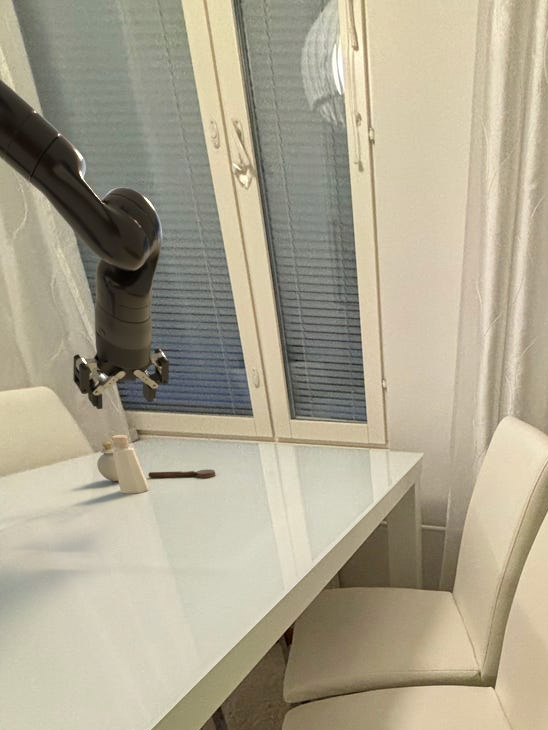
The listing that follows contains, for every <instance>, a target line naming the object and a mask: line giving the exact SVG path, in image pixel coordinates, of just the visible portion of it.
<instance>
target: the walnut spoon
mask: <svg viewBox="0 0 548 730" xmlns="http://www.w3.org/2000/svg"><path fill="white" fill-rule="evenodd" d="M216 475H217V474H216V471H215V470H214V469H199V470H197V471H195V470H184V471H183V470H182V471H181V470H180V471H151V472H149V473H148V474H147V476H148V477H149V478H151V479H157V478H158V479H159V478H161V479H162V478H185V477H197V478H199V479H210V478H213V477H214V478H215V477H216Z"/></svg>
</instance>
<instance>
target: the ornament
mask: <svg viewBox="0 0 548 730" xmlns="http://www.w3.org/2000/svg"><path fill="white" fill-rule="evenodd" d="M105 436H106V438H107V439H108V438H109V441H104V442H101V445H102V447H103V448H102V450H100V451H99V452H100V453H102V455H100V456H99V458H98V460H97V463H96V465H97V469H98V472H99V473H100V475H101V476H103V478H105V479H107V480H109V481H112V482H119V480H118V475H117V470H116V465H115V460H114V455H113V450H114V449H115V447H113V446H112V445H113V444H112V443H113V442H112V438H111V437H110V436H108V434H107V433H105Z"/></svg>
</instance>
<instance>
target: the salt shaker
mask: <svg viewBox="0 0 548 730" xmlns="http://www.w3.org/2000/svg"><path fill="white" fill-rule="evenodd" d="M110 439H111V441H112V443H113V445H114V450H113V455H114V460H115V465H116V470H117V475H118V480H119V481H118V485H119V490H120V493H122V494H128V495H130V494H141V493H145V492H148V491H149V489H150V486H149V484H148V482H147V479H146V476H145V474H144V472H143V469H142V467H141V463H140V461H139V459H138V456H137V453H136V452H135V449H134V448H133V447H130V443H129V437H128V435H125V434H116V435H113V436H111V437H110Z"/></svg>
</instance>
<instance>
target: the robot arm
mask: <svg viewBox="0 0 548 730" xmlns="http://www.w3.org/2000/svg"><path fill="white" fill-rule="evenodd" d="M0 159H1V160H2V161H4V162H5V163H6V164H7V165H8V166H9V167H11V168H12V169H13V170H14V171H15V172H17V174H19V175H20V176H21V177H22V178H23V179H25V181H27V182H28V183H29V184H31V185H32V186H33V187H34V188H35V189H37V190H38V191H39V192H40V193H41V194H42V195H43V196H44V197H45V199H46V200H48V202H49V203H50V204H51V206H53V208H54V209H55V210H56V211H57V213H58V214H59V215H60V216H61V217H62V219H63V220H64V221H65V222H66V223H67V225H68V226H69V227H70V228H71V229H72V231H73V232H74V233H75V234H76V235H77V236H78V237H79V239H80V240H81V241H82V243H84V244H85V246H86V247H87V248H88V249H89V250H90V251H91V252H92V253H93V254H94V255H96V256H97V257H98V258H99V261H98V263H97V265H96V268H95V277H94V279H95V301H94V334H95V335H94V336H95V337H94V339H95V349H96V353H95V355H94V357H93V358H83V356H82V355H81V354H75V355H74V356H73V369H72V371H73V374H72V375H73V376H72V377H73V379H72V380H73V382H74V383H75V385H76V386H77V388H78V390H79V392H80V393H81V394H83V395H88V396H87V399H88V400H89V402H90V403H91V405H92V406H93V408H94V407H95V408H96V409H97V410H102V409H103V394H102V393H103V392H104V391H105V390H106V389H111V388H112V387H113V386H114V385H115V384H116V383H122V382H126V381H127V382H128V381H129V382H132V381H133V382H134V381H137V379H139V380H140V381H142V395H143V398H144V399H145V400H146V402H147V403H148V404H149V403H153V402H154V400H155V399H156V397H157V389H158V387H159V385H162V386H166V385H168V384H169V381H170V379H169V375H170V374H169V373H170V370H169V369H170V361H169V359H168V358H167V356H166V355H165V354H164V352H163V350H162V349H161V348H156V349H155V350H154V353H151V351H152V339H153V338H152V335H153V320H152V304H153V303H152V301H153V283H154V279H155V276H156V272H157V268H158V264H159V260H160V255H161V251H162V247H163V246H162V245H163V228H162V223H161V219H160V216H159V215H158V212H157V211H156V209H155V207H154V206H153V204H152V203H151V202H150V200H148V198H147V197H145V195H144V194H142V193H140V191H137V190H135V189H133V188H130V187H126V186H125V187H124V186H123V187H121V186H119V187H116V188H113V189H110V190H109V191H108V192H107V193H106V194H105V195H104V196H103V198H102V199H100V198H99V197H98V196H97V195H96V193H95V192H94V190H92V188H91V187H90V186H89V184H88V183H87V182H86V181H85V175H86V170H87V165H86V161H85V158H84V156H83V155H82V154H81V153H80V151H79V150H78V149H77V148H76V147H75V146H74V145H73V144H72V143H71V142H70V141H69V140H68V139H67V138H66V137H65V136H64V135H62V134H61V133H60V131H59V130H57V129H56V127H54V126H53V124H51V122H49V121H48V120H47V119H45V118H44V116H42V114H41V113H39V112H38V111H37V109H35V108H34V107H33V106H32V105H30V104H29V102H27V101H26V100H25V99H24V98H23V97H21V96H20V95H19V93H17V92H16V91H15V90H14V89H13V88H12V87H10V86H9V85H8V84H7V83H6V82H5V81H3V80H2V79H1V78H0ZM152 364H153V365H154V373H152V374H151V373H150V372H149V371H148V369H149V368H150V367H151V366H152ZM106 376H107V377H106Z"/></svg>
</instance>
